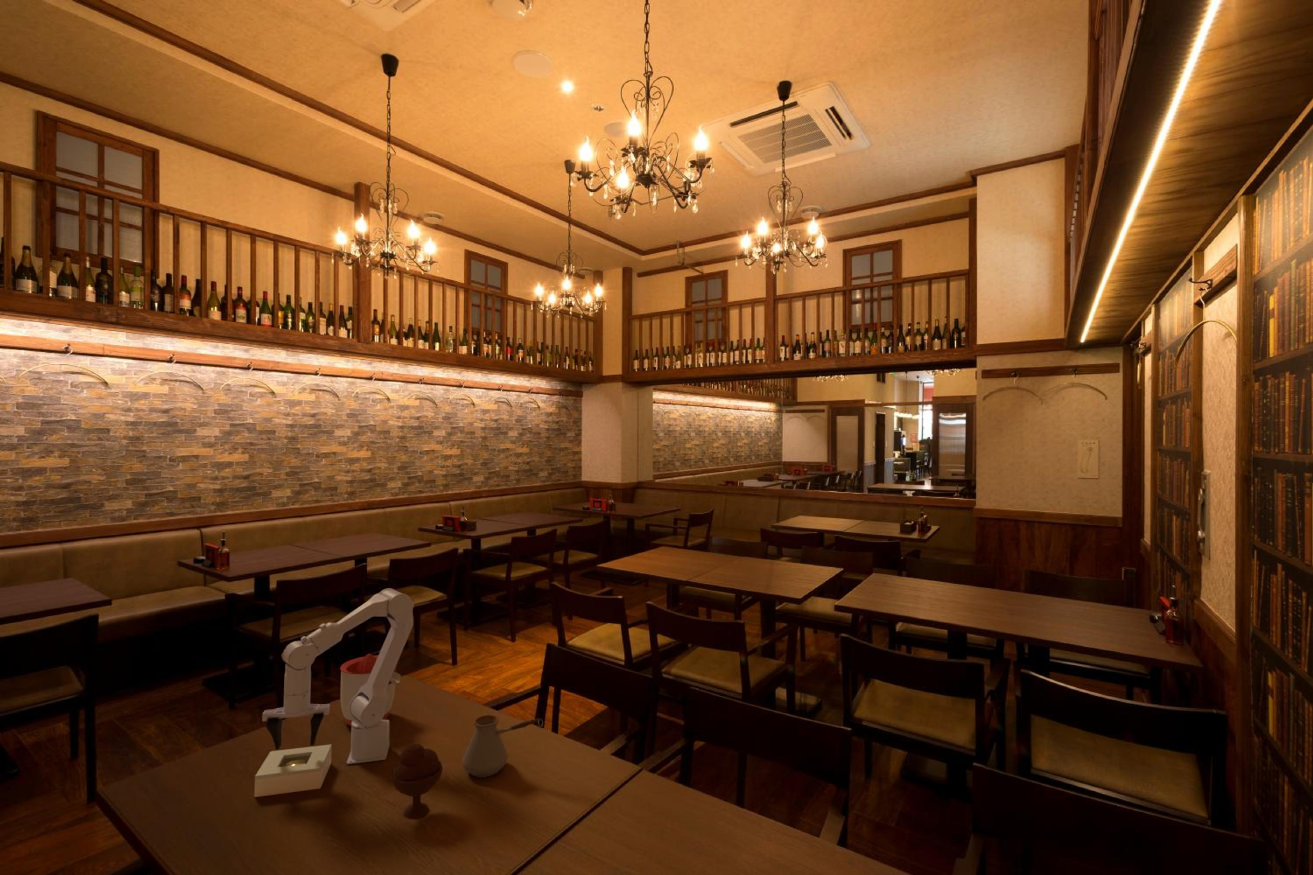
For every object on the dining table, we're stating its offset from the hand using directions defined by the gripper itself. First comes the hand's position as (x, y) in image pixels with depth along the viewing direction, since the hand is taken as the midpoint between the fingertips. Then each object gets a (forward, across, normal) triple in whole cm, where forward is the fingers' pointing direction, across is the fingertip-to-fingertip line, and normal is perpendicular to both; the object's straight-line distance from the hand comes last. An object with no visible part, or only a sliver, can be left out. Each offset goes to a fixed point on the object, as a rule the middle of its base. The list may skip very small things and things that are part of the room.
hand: (295, 745), depth 151 cm
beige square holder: (+8, 0, 0) cm, 8 cm away
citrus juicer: (+9, -13, -31) cm, 35 cm away
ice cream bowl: (+9, -30, +22) cm, 38 cm away
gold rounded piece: (+8, 0, 0) cm, 8 cm away
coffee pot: (+9, -50, +10) cm, 52 cm away
